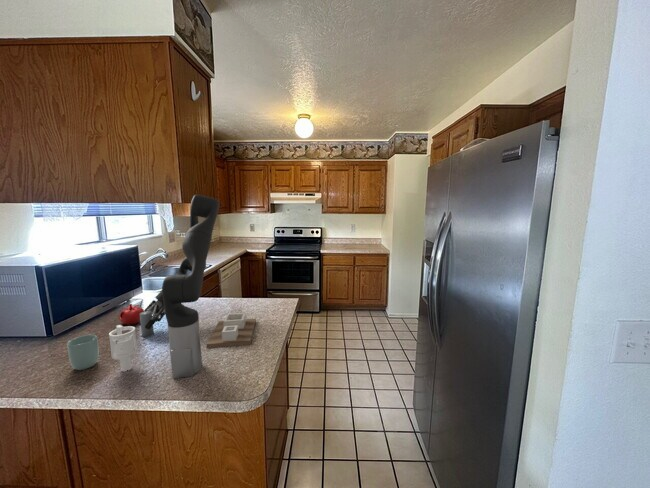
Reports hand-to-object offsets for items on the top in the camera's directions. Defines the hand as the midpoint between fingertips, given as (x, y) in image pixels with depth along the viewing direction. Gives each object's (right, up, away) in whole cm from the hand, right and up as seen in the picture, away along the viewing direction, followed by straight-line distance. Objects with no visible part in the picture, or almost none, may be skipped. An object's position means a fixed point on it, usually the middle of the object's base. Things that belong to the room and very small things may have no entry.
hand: (143, 325), depth 115 cm
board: (+38, -4, +3) cm, 39 cm away
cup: (-6, -8, -21) cm, 24 cm away
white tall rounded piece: (+10, -8, -23) cm, 26 cm away
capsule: (+1, -5, +2) cm, 5 cm away
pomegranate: (-16, -3, +15) cm, 22 cm away
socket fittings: (+38, -3, +2) cm, 38 cm away
